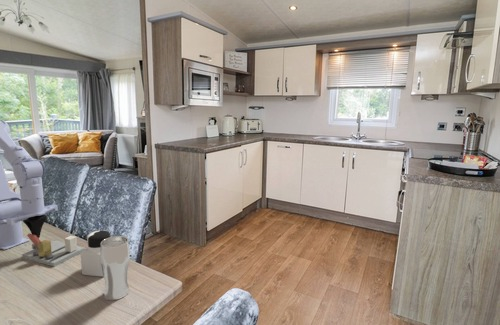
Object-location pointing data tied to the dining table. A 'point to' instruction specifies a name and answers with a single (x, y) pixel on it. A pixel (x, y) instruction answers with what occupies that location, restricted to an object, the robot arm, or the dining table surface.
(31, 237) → the red paddle
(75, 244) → the white slider
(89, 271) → the medicine bottle
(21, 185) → the robot arm
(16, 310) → the dining table surface
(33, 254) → the panel
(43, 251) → the brass slider
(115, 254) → the beer glass
